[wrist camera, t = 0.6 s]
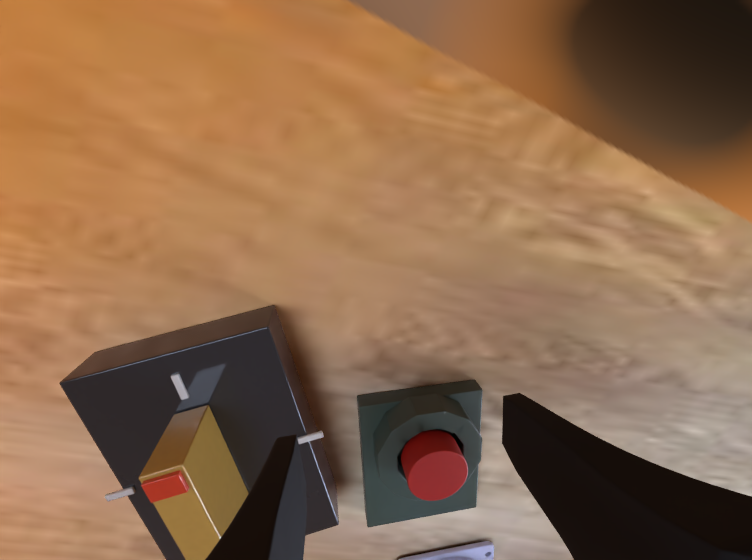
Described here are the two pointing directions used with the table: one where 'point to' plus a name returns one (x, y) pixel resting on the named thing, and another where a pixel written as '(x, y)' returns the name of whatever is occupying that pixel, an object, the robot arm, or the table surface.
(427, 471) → the button
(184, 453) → the gold rectangular bar
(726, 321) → the table surface
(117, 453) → the block
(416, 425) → the button box
